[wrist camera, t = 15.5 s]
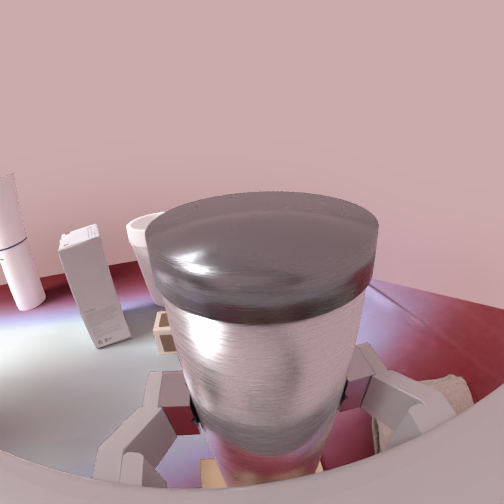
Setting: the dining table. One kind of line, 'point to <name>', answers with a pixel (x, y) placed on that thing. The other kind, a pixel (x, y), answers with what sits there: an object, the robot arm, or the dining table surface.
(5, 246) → the cylindrical container
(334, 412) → the tin canister
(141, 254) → the foam cup
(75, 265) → the skincare box
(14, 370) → the dining table surface
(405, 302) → the dining table surface
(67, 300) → the dining table surface
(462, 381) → the washcloth
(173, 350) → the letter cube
